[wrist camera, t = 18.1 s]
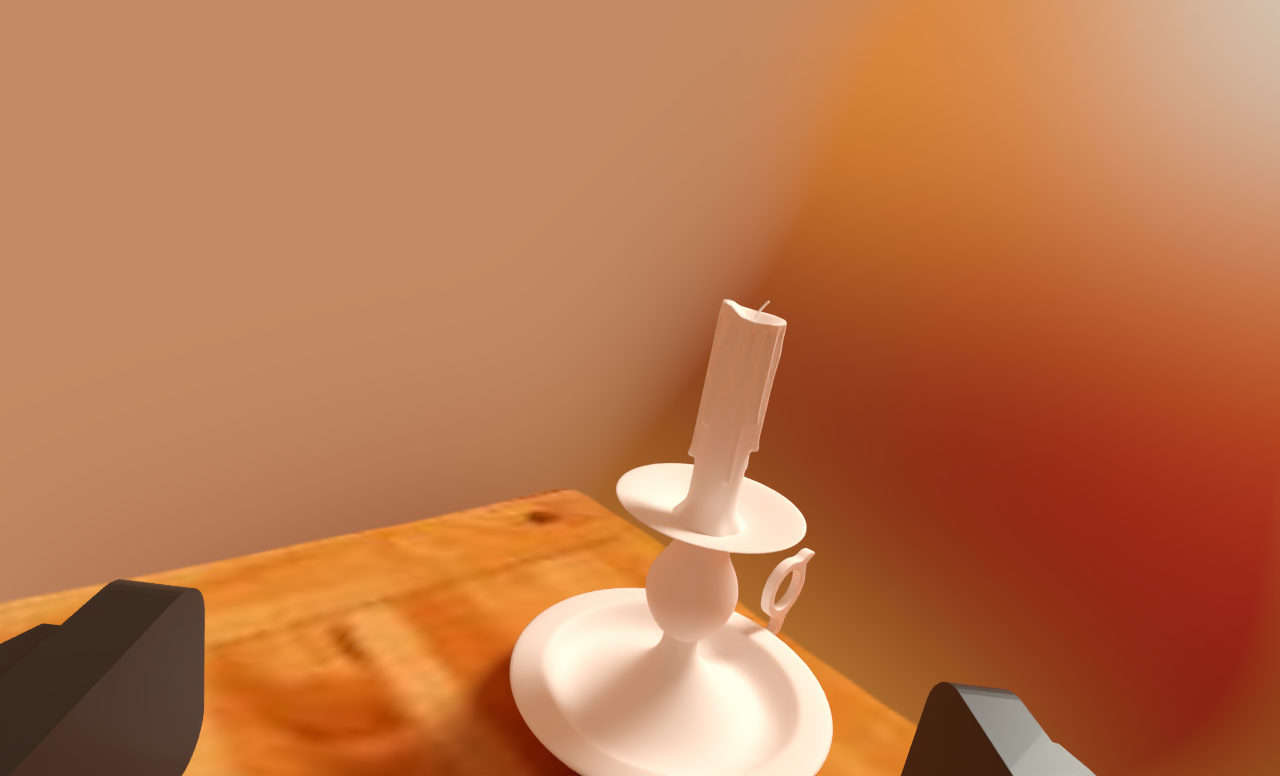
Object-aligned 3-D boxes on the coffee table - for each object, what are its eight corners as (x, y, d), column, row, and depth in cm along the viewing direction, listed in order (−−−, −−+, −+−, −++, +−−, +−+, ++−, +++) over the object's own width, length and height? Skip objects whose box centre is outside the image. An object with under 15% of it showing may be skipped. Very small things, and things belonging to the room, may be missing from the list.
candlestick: (906, 723, 53) (1034, 341, 46) (673, 937, 36) (817, 370, 28) (688, 581, 67) (758, 265, 59) (439, 686, 49) (491, 252, 41)
